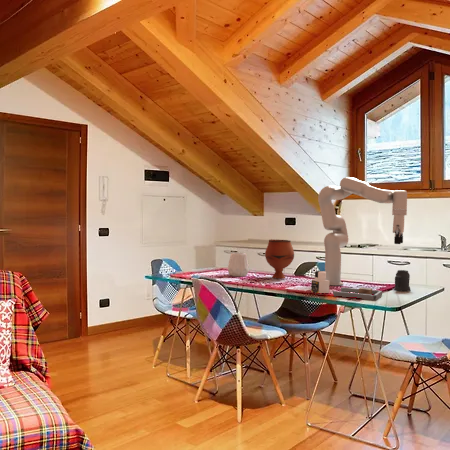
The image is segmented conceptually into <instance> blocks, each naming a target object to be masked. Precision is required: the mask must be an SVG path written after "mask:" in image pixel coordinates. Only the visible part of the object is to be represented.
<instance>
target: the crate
mask: <svg viewBox="0 0 450 450" xmlns="http://www.w3.org/2000/svg"><path fill="white" fill-rule="evenodd" d="M358 289H359V294H368V295H372V290H373V288H372V287H371V288H370V287H359V288H358Z"/></svg>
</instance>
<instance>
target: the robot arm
mask: <svg viewBox="0 0 450 450" xmlns="http://www.w3.org/2000/svg"><path fill="white" fill-rule="evenodd" d="M352 194H353V195H356V196H359V197H362V198H365V199H367V200H369V201H372V202H375V203H378V204H392V208H391V209H392V211H391V214H392V216H393V223H392V233H393V234H394V238H393V239H394V245H401V244H403V242H404V231H405V216H408V212H407V211H408V192H407V190H401V189H400V190H398V189H395V190H390V189H381V188H377V187H375V186H372V185H370V184H369V183H368V182H366V181H362V180H359V179H358V178H356V177H350V176H345V177H343V178H341V180H340V182H339V186H338V185H326V186H324V187H322V189H320V191H319V192H318V196H317V197H318V198H317V200H318V206H319V209H320V215H321V220H322V224H323V229H325V230H326V231H332V232H329V233H327V234H326V235H325V236H324V239H323V243H324V251H325V252H324V254H325V255H324V258H325V259H324V271H325V272H326V280H329V286H343V285H344V283H343V282H342V281H341V279H342V278H341V276H342V251H341V248H344V247H346V246H348V244H349V233H348V230H347V224H346V220H345V219H344V217H343V216H341V215H339V214H336V209H335V205H334V203H333V201H339V200H340V201H341V200H343V199H345V198H347V197H350V196H351V195H352Z"/></svg>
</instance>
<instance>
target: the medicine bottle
mask: <svg viewBox="0 0 450 450" xmlns="http://www.w3.org/2000/svg"><path fill="white" fill-rule="evenodd" d="M310 291H311V293H313V292H315V293H314V294H316V293H329V294H330V285H329V280H326V272H325V270H316V271H315V272H314V279H311V289H310Z"/></svg>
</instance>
